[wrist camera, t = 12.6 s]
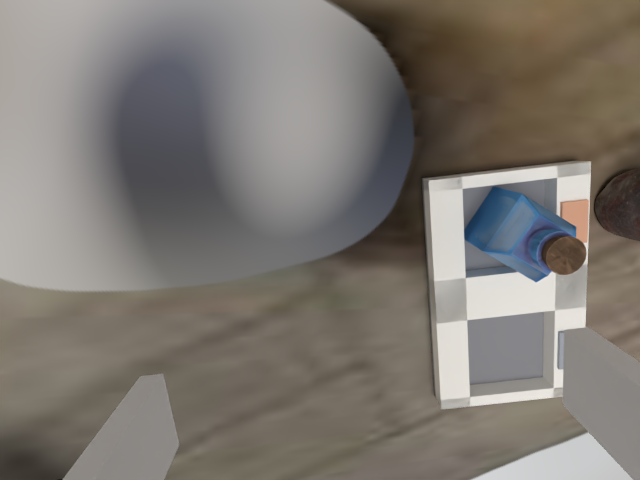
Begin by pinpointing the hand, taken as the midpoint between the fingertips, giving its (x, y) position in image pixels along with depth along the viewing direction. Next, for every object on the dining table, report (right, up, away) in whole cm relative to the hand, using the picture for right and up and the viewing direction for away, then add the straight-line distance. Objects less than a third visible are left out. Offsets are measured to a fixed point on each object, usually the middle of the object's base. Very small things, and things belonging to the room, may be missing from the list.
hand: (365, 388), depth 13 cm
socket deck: (+19, 0, +33) cm, 38 cm away
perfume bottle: (+18, +6, +31) cm, 36 cm away
